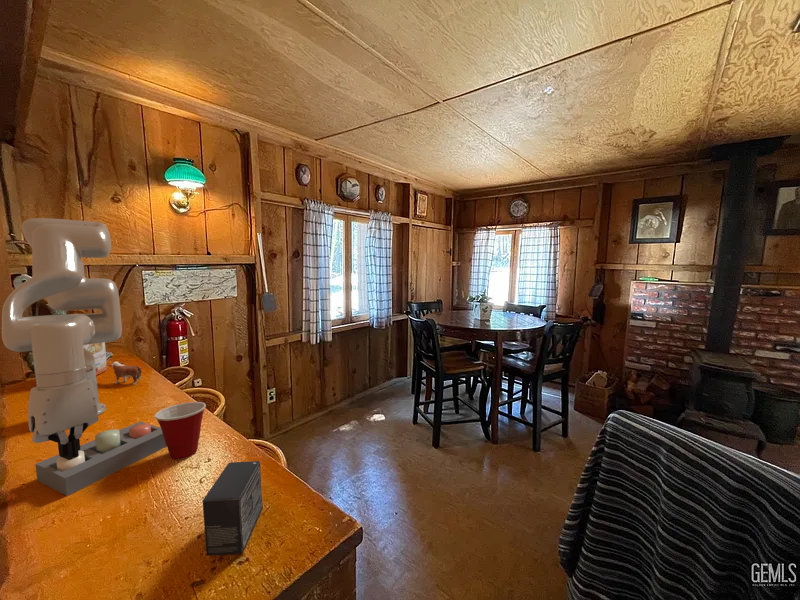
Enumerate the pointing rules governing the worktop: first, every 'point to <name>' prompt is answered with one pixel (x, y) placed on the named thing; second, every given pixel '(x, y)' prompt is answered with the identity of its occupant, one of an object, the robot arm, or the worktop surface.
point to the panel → (99, 461)
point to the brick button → (139, 430)
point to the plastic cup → (181, 428)
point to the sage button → (107, 441)
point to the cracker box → (98, 356)
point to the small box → (232, 508)
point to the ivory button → (69, 462)
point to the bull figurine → (126, 372)
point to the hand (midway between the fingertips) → (70, 456)
